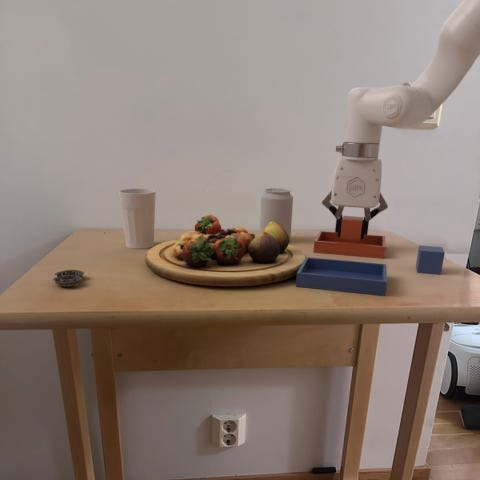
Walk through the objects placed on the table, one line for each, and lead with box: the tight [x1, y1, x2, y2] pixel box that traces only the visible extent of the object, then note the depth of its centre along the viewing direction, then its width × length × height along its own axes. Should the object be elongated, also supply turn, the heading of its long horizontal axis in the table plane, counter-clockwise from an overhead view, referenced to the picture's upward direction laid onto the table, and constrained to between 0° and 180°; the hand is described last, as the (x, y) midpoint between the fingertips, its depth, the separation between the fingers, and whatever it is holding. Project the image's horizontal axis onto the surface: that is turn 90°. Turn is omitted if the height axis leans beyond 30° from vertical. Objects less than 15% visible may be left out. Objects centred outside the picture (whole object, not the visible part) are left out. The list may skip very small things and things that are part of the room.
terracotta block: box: [340, 215, 364, 240], centre depth 109 cm, size 4×4×4 cm
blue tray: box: [295, 256, 388, 297], centre depth 88 cm, size 15×11×2 cm
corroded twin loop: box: [52, 269, 85, 288], centre depth 85 cm, size 5×8×1 cm, turn 12°
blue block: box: [415, 245, 446, 275], centre depth 96 cm, size 4×4×4 cm
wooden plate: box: [144, 214, 306, 287], centre depth 96 cm, size 32×32×8 cm
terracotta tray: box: [312, 230, 387, 259], centre depth 111 cm, size 15×11×2 cm
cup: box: [117, 188, 156, 250], centre depth 108 cm, size 8×8×12 cm
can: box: [259, 187, 294, 239], centre depth 116 cm, size 8×8×12 cm
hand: (350, 236), depth 110 cm, fingers closed on terracotta block, 4 cm apart
